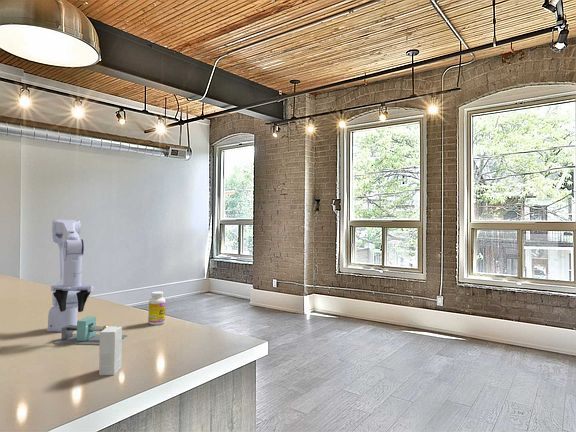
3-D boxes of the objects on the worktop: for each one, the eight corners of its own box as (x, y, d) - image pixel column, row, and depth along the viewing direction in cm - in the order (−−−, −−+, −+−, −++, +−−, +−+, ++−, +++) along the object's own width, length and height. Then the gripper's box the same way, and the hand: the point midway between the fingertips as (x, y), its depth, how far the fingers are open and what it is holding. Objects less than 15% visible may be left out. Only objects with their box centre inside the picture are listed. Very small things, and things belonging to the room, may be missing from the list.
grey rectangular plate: (53, 343, 134) (53, 342, 134) (72, 334, 145) (72, 333, 145) (112, 345, 133) (112, 344, 133) (127, 335, 144) (127, 335, 144)
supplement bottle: (159, 325, 159) (160, 294, 159) (145, 324, 160) (145, 293, 160) (168, 321, 165) (168, 291, 165) (153, 320, 166) (154, 290, 167)
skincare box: (106, 367, 113) (107, 326, 113) (121, 367, 114) (122, 326, 114) (98, 375, 107) (99, 332, 107) (114, 375, 108) (115, 331, 108)
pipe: (61, 340, 137) (61, 326, 137) (68, 337, 141) (68, 323, 141) (116, 342, 137) (116, 327, 137) (121, 338, 141) (121, 324, 141)
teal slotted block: (76, 340, 136) (77, 321, 136) (87, 335, 142) (87, 316, 143) (85, 340, 136) (85, 321, 136) (95, 335, 142) (95, 316, 143)
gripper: (45, 274, 136) (44, 313, 136) (86, 275, 135) (85, 314, 135) (58, 271, 143) (57, 308, 143) (97, 272, 142) (96, 309, 142)
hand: (71, 311), depth 139 cm, fingers open, 6 cm apart
